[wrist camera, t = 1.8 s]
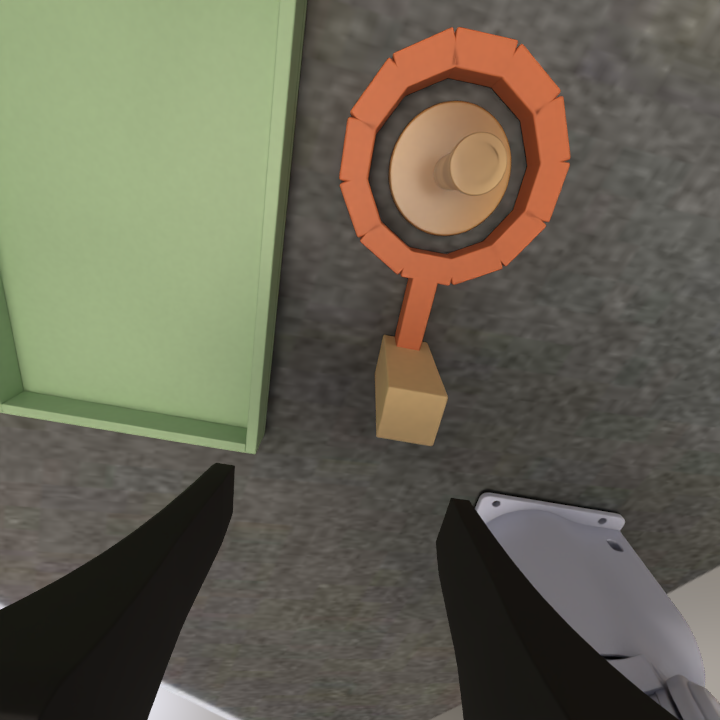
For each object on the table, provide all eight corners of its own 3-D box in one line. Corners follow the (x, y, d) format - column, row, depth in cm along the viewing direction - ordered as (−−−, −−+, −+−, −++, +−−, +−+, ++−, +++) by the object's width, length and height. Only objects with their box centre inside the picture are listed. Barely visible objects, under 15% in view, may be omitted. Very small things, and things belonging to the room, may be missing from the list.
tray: (310, -25, 14) (301, -57, 13) (264, 434, 23) (255, 454, 21) (-79, -114, 14) (-149, -162, 12) (22, 393, 22) (-9, 411, 20)
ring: (587, 71, 15) (708, 3, 10) (475, 392, 21) (512, 460, 16) (364, 22, 15) (361, -80, 9) (314, 363, 21) (293, 423, 15)
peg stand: (522, 118, 16) (592, 84, 11) (484, 243, 18) (528, 262, 13) (402, 92, 16) (418, 44, 11) (378, 222, 18) (380, 233, 13)
